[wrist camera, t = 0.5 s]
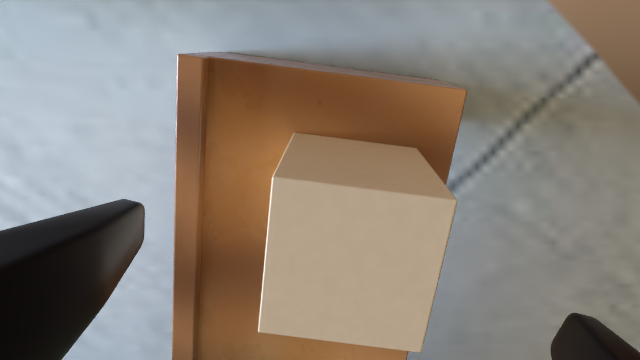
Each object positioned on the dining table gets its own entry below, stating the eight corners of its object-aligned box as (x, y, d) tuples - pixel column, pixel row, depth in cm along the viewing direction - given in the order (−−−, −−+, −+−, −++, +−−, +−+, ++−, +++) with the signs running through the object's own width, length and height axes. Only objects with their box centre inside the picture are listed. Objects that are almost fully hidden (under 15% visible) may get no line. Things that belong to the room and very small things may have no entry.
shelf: (373, 396, 27) (383, 485, 22) (203, 374, 27) (169, 459, 21) (438, 79, 21) (475, 92, 15) (218, 51, 21) (176, 53, 15)
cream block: (395, 258, 18) (421, 353, 13) (282, 243, 18) (257, 332, 13) (417, 147, 17) (458, 200, 11) (293, 132, 17) (271, 176, 11)
